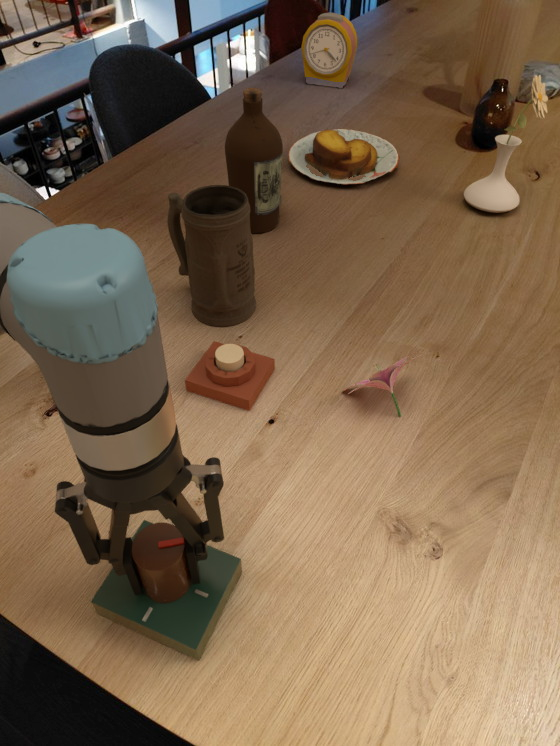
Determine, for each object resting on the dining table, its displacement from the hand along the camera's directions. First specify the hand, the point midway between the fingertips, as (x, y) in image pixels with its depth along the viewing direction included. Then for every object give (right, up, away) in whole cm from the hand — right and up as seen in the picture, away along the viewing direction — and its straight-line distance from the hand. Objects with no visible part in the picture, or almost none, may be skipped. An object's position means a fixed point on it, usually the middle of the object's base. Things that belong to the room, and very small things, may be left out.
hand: (167, 576), depth 58 cm
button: (+4, +22, +23) cm, 32 cm away
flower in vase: (+57, +57, +63) cm, 102 cm away
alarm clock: (+26, +109, +115) cm, 160 cm away
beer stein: (0, +33, +38) cm, 50 cm away
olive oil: (+7, +51, +57) cm, 77 cm away
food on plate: (+26, +70, +76) cm, 106 cm away
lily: (+26, +17, +23) cm, 38 cm away
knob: (0, 0, +1) cm, 1 cm away
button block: (+4, +20, +25) cm, 32 cm away
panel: (0, -3, +3) cm, 4 cm away
